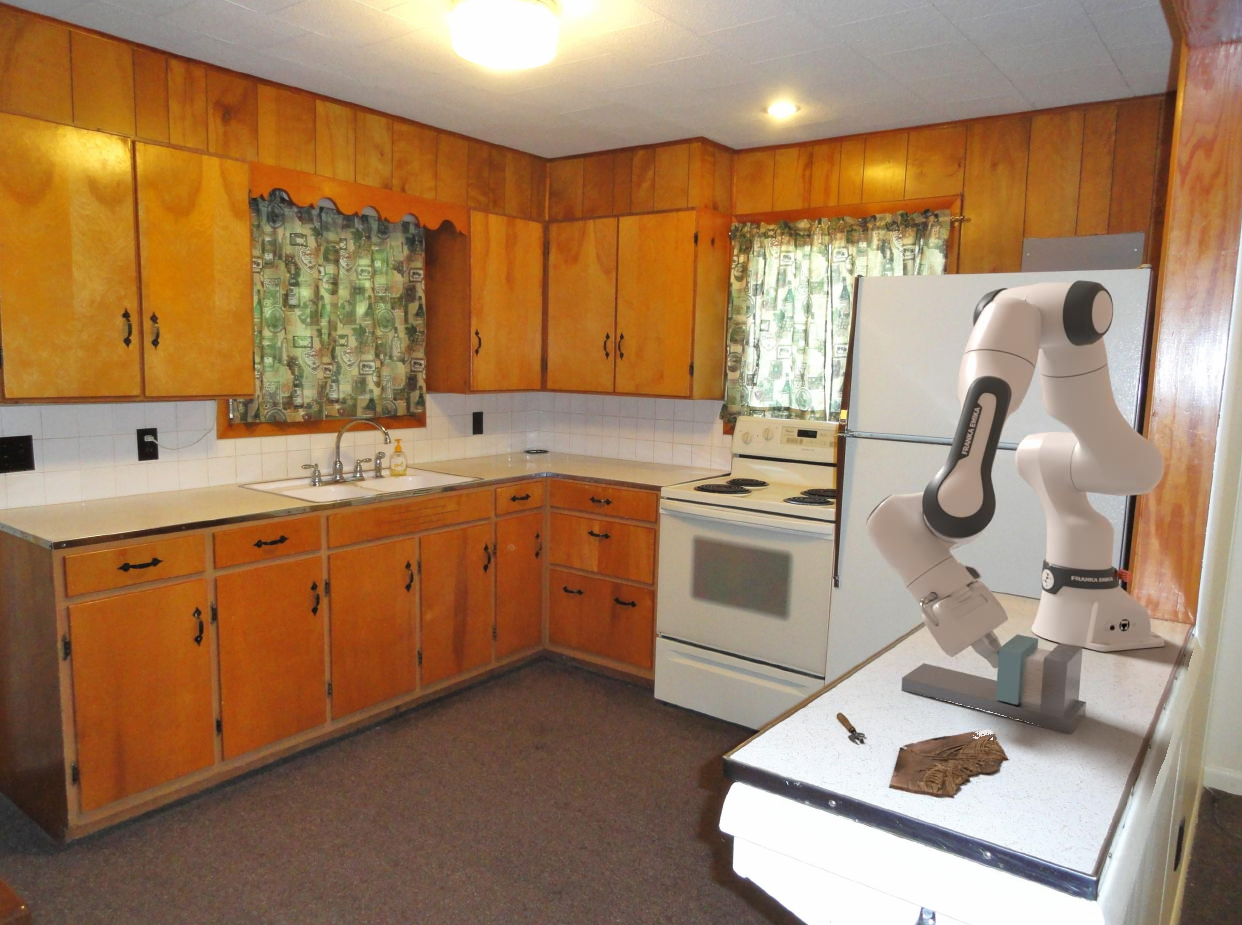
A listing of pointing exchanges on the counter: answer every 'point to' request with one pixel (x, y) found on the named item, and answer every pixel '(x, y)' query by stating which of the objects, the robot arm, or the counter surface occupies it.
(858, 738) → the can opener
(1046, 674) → the vise bed
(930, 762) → the wooden fragment
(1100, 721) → the counter surface
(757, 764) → the counter surface
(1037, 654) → the steel block
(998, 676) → the slide jaw
